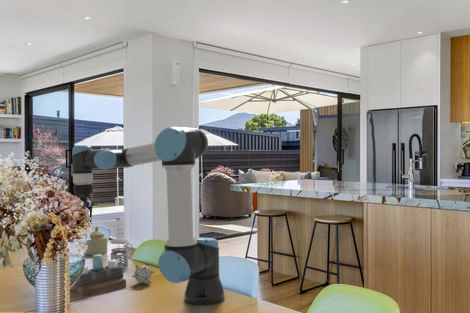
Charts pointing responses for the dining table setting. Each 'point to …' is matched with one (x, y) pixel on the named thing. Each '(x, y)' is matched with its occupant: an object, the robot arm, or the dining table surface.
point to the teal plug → (97, 262)
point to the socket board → (100, 281)
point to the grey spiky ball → (143, 274)
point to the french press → (120, 250)
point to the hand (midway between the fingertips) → (85, 241)
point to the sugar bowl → (97, 243)
